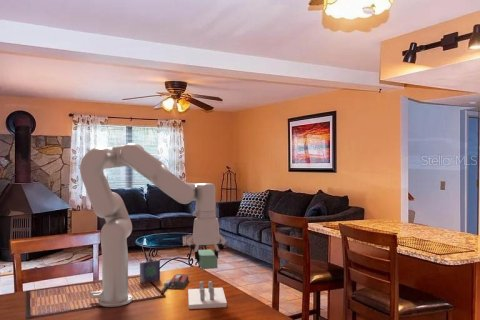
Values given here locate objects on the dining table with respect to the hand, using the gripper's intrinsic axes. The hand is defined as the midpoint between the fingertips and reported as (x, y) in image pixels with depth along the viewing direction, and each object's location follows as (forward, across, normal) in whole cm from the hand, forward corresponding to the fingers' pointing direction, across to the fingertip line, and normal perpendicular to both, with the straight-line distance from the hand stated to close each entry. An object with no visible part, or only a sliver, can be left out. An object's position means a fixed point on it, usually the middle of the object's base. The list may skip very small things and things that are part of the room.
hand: (206, 260), depth 161 cm
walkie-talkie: (+16, -13, +19) cm, 28 cm away
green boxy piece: (+1, 0, 0) cm, 1 cm away
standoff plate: (+15, 0, 0) cm, 15 cm away
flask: (+15, -24, +28) cm, 40 cm away
